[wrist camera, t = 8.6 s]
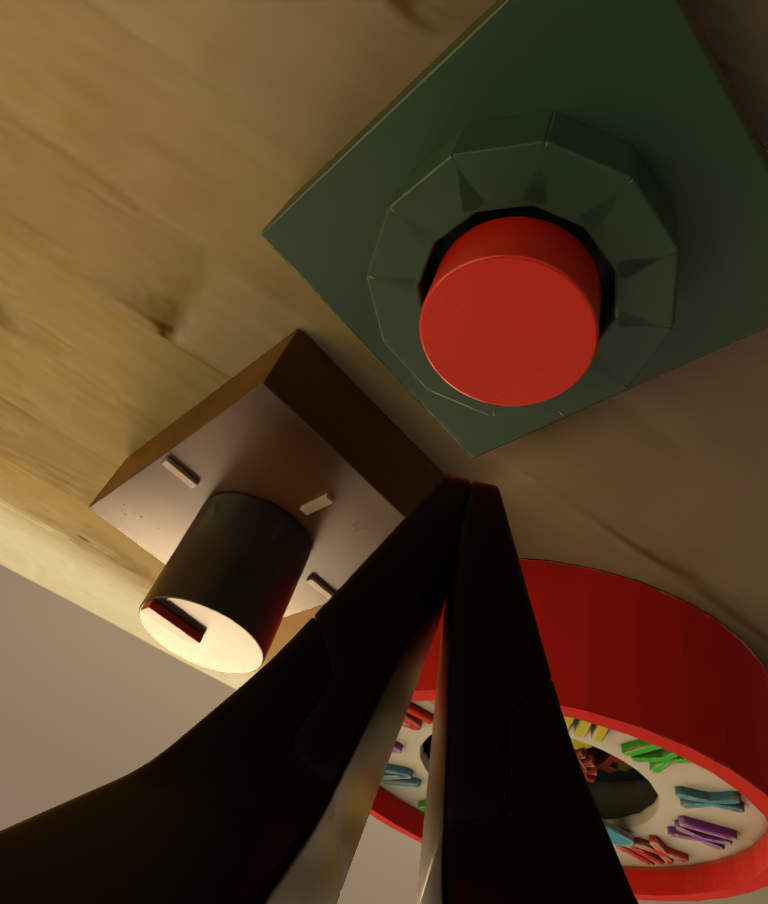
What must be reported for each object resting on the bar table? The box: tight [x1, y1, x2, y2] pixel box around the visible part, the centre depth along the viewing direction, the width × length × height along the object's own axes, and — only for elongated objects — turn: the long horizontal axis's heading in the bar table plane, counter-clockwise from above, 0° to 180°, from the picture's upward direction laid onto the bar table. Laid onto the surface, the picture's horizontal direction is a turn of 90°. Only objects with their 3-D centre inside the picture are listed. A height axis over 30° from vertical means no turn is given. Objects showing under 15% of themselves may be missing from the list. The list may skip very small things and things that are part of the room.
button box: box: [261, 0, 768, 458], centre depth 16 cm, size 10×9×4 cm
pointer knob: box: [139, 493, 310, 673], centre depth 23 cm, size 4×4×5 cm
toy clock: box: [369, 559, 768, 901], centre depth 31 cm, size 20×6×20 cm
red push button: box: [419, 216, 602, 406], centre depth 14 cm, size 4×4×2 cm
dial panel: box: [89, 329, 444, 617], centre depth 26 cm, size 12×9×3 cm
